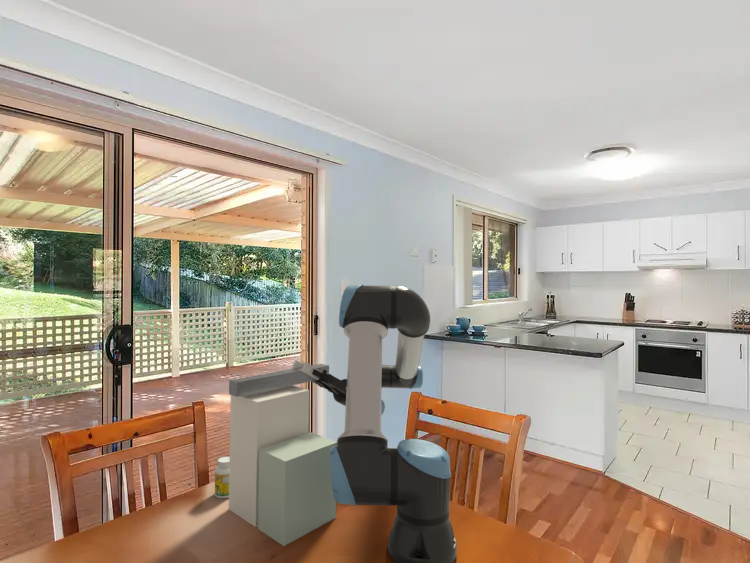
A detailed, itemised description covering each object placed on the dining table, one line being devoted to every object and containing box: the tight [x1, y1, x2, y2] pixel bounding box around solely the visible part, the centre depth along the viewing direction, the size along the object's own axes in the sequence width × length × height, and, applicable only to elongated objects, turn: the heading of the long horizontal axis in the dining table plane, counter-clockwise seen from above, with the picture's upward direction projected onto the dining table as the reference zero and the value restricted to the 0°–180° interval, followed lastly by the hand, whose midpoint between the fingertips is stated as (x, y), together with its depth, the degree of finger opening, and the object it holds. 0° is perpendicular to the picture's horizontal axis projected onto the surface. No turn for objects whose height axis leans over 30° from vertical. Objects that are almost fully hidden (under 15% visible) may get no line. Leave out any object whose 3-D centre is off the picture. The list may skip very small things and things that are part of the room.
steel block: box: [228, 363, 330, 397], centre depth 119 cm, size 30×4×4 cm, turn 139°
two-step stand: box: [228, 385, 337, 547], centre depth 112 cm, size 16×23×30 cm
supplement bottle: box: [214, 456, 230, 500], centre depth 121 cm, size 5×5×10 cm
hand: (299, 365), depth 122 cm, fingers closed on steel block, 3 cm apart
